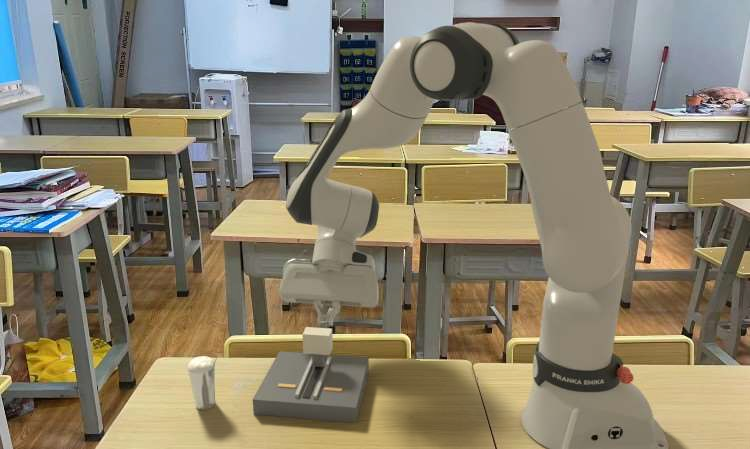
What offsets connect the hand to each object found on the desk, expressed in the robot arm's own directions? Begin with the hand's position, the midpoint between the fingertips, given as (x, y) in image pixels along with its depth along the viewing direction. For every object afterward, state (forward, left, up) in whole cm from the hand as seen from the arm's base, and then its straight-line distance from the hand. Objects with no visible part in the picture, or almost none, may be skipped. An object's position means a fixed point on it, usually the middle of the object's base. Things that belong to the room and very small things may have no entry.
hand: (324, 324), depth 108 cm
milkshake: (+18, +16, -9) cm, 26 cm away
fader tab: (0, +6, -5) cm, 8 cm away
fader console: (0, +10, -9) cm, 13 cm away
